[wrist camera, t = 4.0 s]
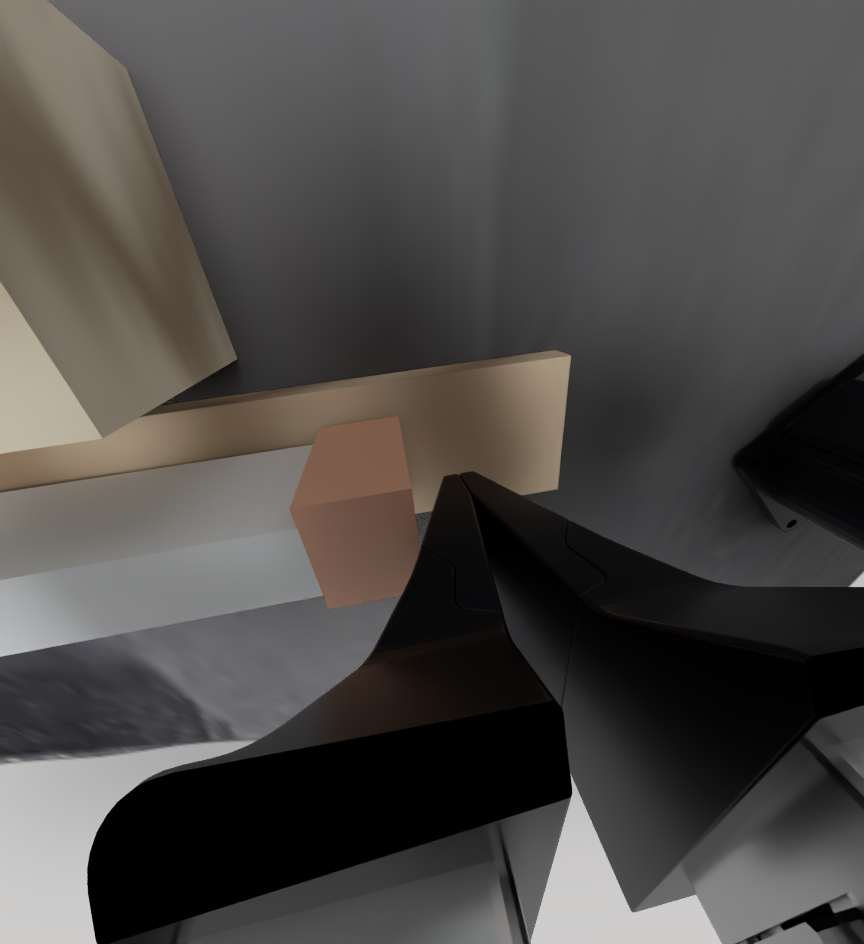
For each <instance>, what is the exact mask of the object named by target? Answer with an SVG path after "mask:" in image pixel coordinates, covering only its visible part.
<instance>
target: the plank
mask: <svg viewBox="0 0 864 944" xmlns="http://www.w3.org/2000/svg"><path fill="white" fill-rule="evenodd" d="M570 361H571V355H568V354H566V353H563V352H560V351H558V350H552V351H545V352H538V353H530V354H523V355H516V356H509V357H502V358H495V359H488V360H481V361H473V362H466V363H459V364H452V365H445V366H438V367H431V368H424V369H417V370H409V371H402V372H395V373H388V374H381V375H374V376H367V377H360V378H352V379H345V380H338V381H331V382H324V383H317V384H310V385H303V386H295V387H288V388H281V389H274V390H267V391H260V392H253V393H246V394H239V395H231V396H224V397H217V398H210V399H203V400H196V401H189V402H182V403H174V404H167V405H160V406H157V407H156V408H154V409H152V410H150V411H149V412H147V413H145V414H144V415H142V416H140V417H139V418H137V419H135V420H134V421H132V422H130V423H128V424H127V425H125V426H123V427H122V428H120V429H118V430H117V431H115V432H113V433H112V434H110V435H108V436H106V437H105V438H103V439H97V440H90V441H84V442H77V443H70V444H63V445H57V446H50V447H43V448H36V449H30V450H23V451H16V452H9V453H2V454H0V493H1V492H8V491H14V490H21V489H27V488H34V487H40V486H47V485H53V484H60V483H66V482H73V481H79V480H85V479H92V478H98V477H105V476H111V475H118V474H124V473H131V472H137V471H144V470H150V469H157V468H163V467H170V466H176V465H183V464H189V463H196V462H202V461H209V460H215V459H222V458H228V457H235V456H241V455H248V454H254V453H261V452H267V451H274V450H280V449H287V448H293V447H300V446H306V445H313V443H314V441H315V438H316V435H317V433H318V430H319V428H321V427H328V426H335V425H341V424H348V423H355V422H361V421H368V420H375V419H381V418H388V417H395V416H398V417H399V422H400V428H401V433H402V439H403V444H404V450H405V455H406V461H407V466H408V472H409V477H410V483H411V488H412V495H413V501H414V507H415V514H418V513H423V512H429V511H432V510H433V507H434V504H435V501H436V498H437V495H438V492H439V488H440V485H441V482H442V479H443V477H444V476H446V475H452V474H458V475H459V474H460V473H464V472H470V471H474V472H477V473H479V474H481V475H482V476H484V477H486V478H488V479H490V480H492V481H494V482H496V483H498V484H500V485H502V486H504V487H506V488H508V489H510V490H512V491H514V492H516V493H518V494H520V495H527V494H533V493H538V492H544V491H550V490H556V489H558V480H559V470H560V460H561V450H562V440H563V430H564V420H565V410H566V400H567V390H568V381H569V371H570Z"/></svg>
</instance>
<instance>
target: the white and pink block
mask: <svg viewBox="0 0 864 944" xmlns="http://www.w3.org/2000/svg"><path fill="white" fill-rule="evenodd" d="M420 549H421V545H420V539H419V533H418V526H417V520H416V514H415V507H414V501H413V495H412V488H411V483H410V477H409V472H408V466H407V461H406V455H405V450H404V444H403V439H402V433H401V428H400V422H399V417H398V416H395V417H388V418H381V419H375V420H368V421H361V422H355V423H348V424H341V425H335V426H328V427H321V428H319V430H318V433H317V435H316V438H315V441H314V443H313V445H306V446H300V447H293V448H287V449H280V450H274V451H267V452H261V453H254V454H248V455H241V456H235V457H228V458H222V459H215V460H209V461H202V462H196V463H189V464H183V465H176V466H170V467H163V468H157V469H150V470H144V471H137V472H131V473H124V474H118V475H111V476H105V477H98V478H92V479H85V480H79V481H73V482H66V483H60V484H53V485H47V486H40V487H34V488H27V489H21V490H14V491H8V492H1V493H0V657H1V656H6V655H12V654H17V653H22V652H27V651H33V650H38V649H43V648H49V647H54V646H59V645H65V644H70V643H75V642H81V641H86V640H91V639H96V638H102V637H107V636H112V635H118V634H123V633H128V632H134V631H139V630H144V629H149V628H155V627H160V626H165V625H171V624H176V623H181V622H187V621H192V620H197V619H203V618H208V617H213V616H218V615H224V614H229V613H234V612H240V611H245V610H250V609H256V608H261V607H266V606H272V605H277V604H282V603H287V602H293V601H298V600H303V599H309V598H314V597H319V596H324V599H325V601H326V604H327V607H328V609H329V610H331V609H336V608H341V607H346V606H352V605H357V604H362V603H367V602H372V601H378V600H383V599H388V598H393V597H398V596H401V595H402V593H403V591H404V589H405V587H406V585H407V583H408V581H409V578H410V576H411V574H412V571H413V568H414V566H415V563H416V560H417V557H418V554H419V551H420Z"/></svg>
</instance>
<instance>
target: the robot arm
mask: <svg viewBox="0 0 864 944" xmlns="http://www.w3.org/2000/svg"><path fill="white" fill-rule="evenodd" d="M736 468H737V470H738V471H739V473H740V474H741V476H742V477H743V479H744V480H745V482H746V483H747V485H748V486H749V488H750V489H751V491H752V493H753V494H754V496H755V497H756V499H757V500H758V502H759V503H760V505H761V506H762V508H763V509H764V511H765V512H766V514H767V515H768V517H769V518H770V520H771V521H772V523H773V524H774V526H776V527H778V528H779V529H781V530H782V531H784V532H787V531H791V530H793V529H794V528H796V527H797V526H799V525H800V524H802V523H803V522H805V521H806V520H810V521H812V522H814V523H816V524H817V525H819V526H821V527H823V528H825V529H826V530H828V531H830V532H832V533H834V534H835V535H837V536H839V537H841V538H843V539H845V540H846V541H848V542H850V543H852V544H854V545H855V546H857V547H859V548H861V549H863V550H864V360H863V361H862V362H860V363H859V364H858V365H857V366H855V367H854V368H853V369H851V370H850V371H849V372H847V373H846V374H845V375H844V376H842V377H841V378H840V379H838V380H837V381H836V382H835V383H833V384H832V385H831V386H829V387H828V388H827V389H825V390H824V391H823V392H822V393H820V394H819V395H818V396H816V397H815V398H814V399H813V400H811V401H810V402H809V403H807V404H806V405H805V406H803V407H802V408H801V409H800V410H798V411H797V412H796V413H794V414H793V415H792V416H791V417H789V418H788V419H787V420H785V421H784V422H783V423H781V424H780V425H779V426H778V427H776V428H775V429H774V430H772V431H771V432H770V433H769V434H767V435H766V436H765V437H763V438H762V439H761V440H760V441H758V442H757V443H756V444H754V445H753V446H752V447H750V448H749V449H748V450H747V451H745V452H744V453H743V454H742V455H741V456H740V457H739V458H738V459H737V461H736ZM510 635H511V636H510ZM511 637H512V638H511ZM570 773H571V775H572V777H573V780H574V782H575V784H576V786H577V789H578V791H579V793H580V796H581V798H582V800H583V803H584V805H585V807H586V809H587V812H588V814H589V816H590V819H591V821H592V823H593V825H594V828H595V830H596V832H597V834H598V837H599V839H600V842H601V844H602V846H603V848H604V851H605V853H606V855H607V857H608V860H609V862H610V864H611V867H612V869H613V871H614V874H615V876H616V878H617V880H618V883H619V885H620V887H621V890H622V892H623V894H624V896H625V898H626V901H627V903H628V905H629V907H630V909H631V911H632V912H637V911H641V910H644V909H647V908H651V907H655V906H658V905H661V904H665V903H668V902H672V901H675V900H678V899H682V898H685V897H689V896H692V895H695V894H696V895H697V897H698V899H699V901H700V903H701V905H702V906H703V909H704V910H705V912H706V914H707V916H708V918H709V920H710V922H711V924H712V925H713V927H714V929H715V931H716V933H717V935H718V937H719V939H720V941H721V942H722V944H864V587H742V586H733V585H727V584H722V583H717V582H713V581H710V580H706V579H703V578H700V577H698V576H695V575H692V574H690V573H688V572H685V571H683V570H680V569H678V568H676V567H673V566H671V565H668V564H666V563H664V562H661V561H659V560H656V559H654V558H652V557H649V556H647V555H644V554H642V553H640V552H637V551H635V550H632V549H630V548H628V547H625V546H623V545H621V544H619V543H616V542H614V541H612V540H609V539H607V538H605V537H603V536H601V535H599V534H597V533H594V532H592V531H590V530H588V529H586V528H584V527H582V526H580V525H578V524H576V523H574V522H572V521H569V520H568V519H566V518H564V517H562V516H561V515H559V514H557V513H555V512H553V511H551V510H549V509H547V508H545V507H543V506H541V505H539V504H537V503H535V502H533V501H531V500H529V499H527V498H525V497H523V496H522V495H520V494H518V493H516V492H514V491H512V490H510V489H508V488H506V487H504V486H502V485H500V484H498V483H496V482H494V481H492V480H490V479H488V478H486V477H484V476H482V475H481V474H479V473H477V472H474V471H470V472H464V473H460V474H459V475H458V474H452V475H446V476H444V477H443V479H442V482H441V485H440V488H439V492H438V495H437V498H436V501H435V504H434V507H433V510H432V514H431V517H430V520H429V523H428V526H427V529H426V533H425V536H424V539H423V542H422V545H421V549H420V551H419V554H418V557H417V560H416V563H415V566H414V568H413V571H412V574H411V576H410V578H409V581H408V583H407V585H406V587H405V589H404V591H403V593H402V595H401V597H400V599H399V601H398V603H397V605H396V607H395V609H394V611H393V613H392V615H391V617H390V619H389V621H388V623H387V624H386V626H385V628H384V630H383V632H382V634H381V636H380V638H379V640H378V642H377V644H376V645H375V647H374V649H373V651H372V652H371V654H370V655H369V657H368V658H367V659H366V660H365V662H364V663H363V664H362V665H361V666H360V667H359V668H358V669H357V670H356V671H354V672H353V673H352V674H350V675H349V676H348V677H346V678H345V679H344V680H342V681H341V682H340V683H338V684H337V685H336V686H334V687H333V688H332V689H330V690H329V691H328V692H326V693H325V694H324V695H322V696H321V697H320V698H318V699H317V700H316V701H314V702H313V703H312V704H310V705H309V706H308V707H306V708H305V709H303V710H302V711H301V712H299V713H298V714H297V715H295V716H294V717H293V718H291V719H290V720H289V721H287V722H286V723H285V724H283V725H282V726H280V727H279V728H277V729H276V730H274V731H273V732H272V733H270V734H269V735H267V736H265V737H263V738H261V739H259V740H257V741H256V742H254V743H252V744H250V745H248V746H246V747H243V748H241V749H238V750H236V751H234V752H231V753H228V754H225V755H222V756H218V757H215V758H211V759H207V760H203V761H198V762H193V763H189V764H184V765H181V766H177V767H174V768H171V769H167V770H164V771H162V772H160V773H158V774H155V775H153V776H151V777H149V778H148V779H146V780H144V781H143V782H142V783H140V784H139V785H138V786H137V787H135V788H134V789H133V790H132V791H130V792H129V793H128V794H127V795H125V796H124V797H123V798H122V799H121V800H120V801H118V802H117V803H116V805H115V806H114V807H113V808H112V809H111V811H110V812H109V813H108V814H107V816H106V818H105V819H104V821H103V823H102V824H101V826H100V828H99V829H98V831H97V833H96V836H95V839H94V842H93V845H92V848H91V851H90V855H89V862H88V867H87V868H88V870H87V871H88V872H87V874H88V882H87V885H88V896H89V902H90V908H91V914H92V920H93V926H94V932H95V938H96V942H97V944H531V942H530V941H531V937H532V934H533V930H534V927H535V923H536V920H537V916H538V913H539V909H540V905H541V902H542V898H543V895H544V891H545V888H546V884H547V880H548V877H549V873H550V870H551V867H552V863H553V860H554V856H555V852H556V849H557V845H558V842H559V838H560V835H561V831H562V827H563V824H564V820H565V817H566V813H567V810H568V806H569V803H570V799H571V795H572V785H571V776H570Z"/></svg>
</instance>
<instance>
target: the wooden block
mask: <svg viewBox="0 0 864 944" xmlns="http://www.w3.org/2000/svg"><path fill="white" fill-rule="evenodd" d="M235 360H237V357H236V354H235V351H234V349H233V346H232V344H231V341H230V338H229V336H228V333H227V331H226V328H225V325H224V323H223V320H222V317H221V315H220V312H219V310H218V307H217V304H216V302H215V299H214V297H213V294H212V291H211V289H210V286H209V283H208V281H207V278H206V276H205V273H204V270H203V268H202V265H201V262H200V260H199V257H198V255H197V252H196V249H195V247H194V244H193V242H192V239H191V236H190V234H189V231H188V228H187V226H186V223H185V221H184V218H183V215H182V213H181V210H180V208H179V205H178V202H177V200H176V197H175V194H174V192H173V189H172V187H171V184H170V181H169V179H168V176H167V173H166V171H165V168H164V166H163V163H162V160H161V158H160V155H159V153H158V150H157V147H156V145H155V142H154V139H153V137H152V134H151V132H150V129H149V126H148V124H147V121H146V119H145V116H144V113H143V111H142V108H141V105H140V103H139V100H138V98H137V95H136V92H135V90H134V87H133V84H132V82H131V79H130V77H129V74H128V71H127V69H126V68H125V67H124V66H123V65H122V64H121V63H120V62H118V61H117V60H116V59H115V58H114V57H113V56H111V55H110V54H109V53H108V52H107V51H106V50H104V49H103V48H102V47H101V46H100V45H99V44H97V43H96V42H95V41H94V40H93V39H91V38H90V37H89V36H88V35H87V34H86V33H84V32H83V31H82V30H81V29H80V28H79V27H77V26H76V25H75V24H74V23H73V22H72V21H70V20H69V19H68V18H67V17H66V16H65V15H63V14H62V13H61V12H60V11H59V10H58V9H56V8H55V7H54V6H53V5H52V4H51V3H49V2H48V1H47V0H0V454H2V453H9V452H16V451H23V450H30V449H36V448H43V447H50V446H57V445H63V444H70V443H77V442H84V441H90V440H97V439H103V438H105V437H106V436H108V435H110V434H112V433H113V432H115V431H117V430H118V429H120V428H122V427H123V426H125V425H127V424H128V423H130V422H132V421H134V420H135V419H137V418H139V417H140V416H142V415H144V414H145V413H147V412H149V411H150V410H152V409H154V408H156V407H157V406H159V405H161V404H162V403H164V402H166V401H167V400H169V399H171V398H173V397H174V396H176V395H178V394H179V393H181V392H183V391H184V390H186V389H188V388H189V387H191V386H193V385H195V384H196V383H198V382H200V381H201V380H203V379H205V378H206V377H208V376H210V375H211V374H213V373H215V372H217V371H218V370H220V369H222V368H223V367H225V366H227V365H228V364H230V363H232V362H233V361H235Z"/></svg>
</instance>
